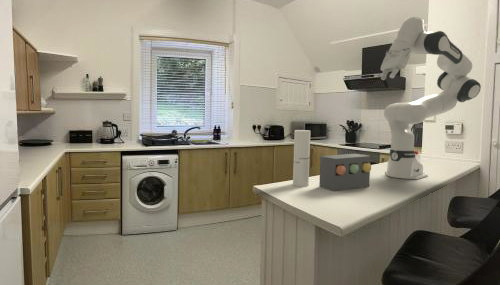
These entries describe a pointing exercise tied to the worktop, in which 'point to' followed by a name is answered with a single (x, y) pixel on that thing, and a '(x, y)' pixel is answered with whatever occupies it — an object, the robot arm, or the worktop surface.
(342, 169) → the terracotta button
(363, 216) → the worktop surface
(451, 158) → the worktop surface
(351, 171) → the sage green button
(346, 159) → the control panel
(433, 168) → the worktop surface
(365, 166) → the ochre button
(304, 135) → the cylindrical container
